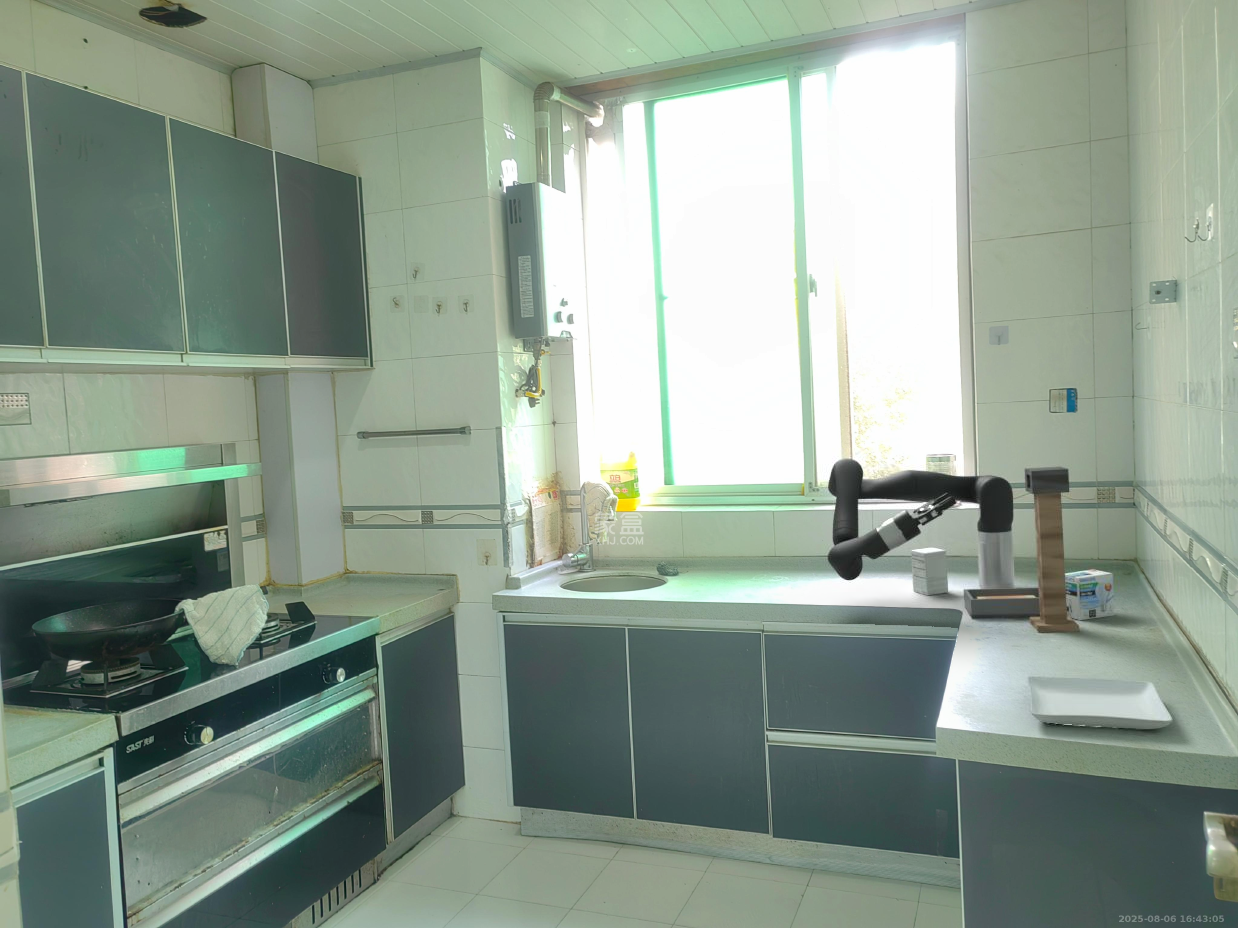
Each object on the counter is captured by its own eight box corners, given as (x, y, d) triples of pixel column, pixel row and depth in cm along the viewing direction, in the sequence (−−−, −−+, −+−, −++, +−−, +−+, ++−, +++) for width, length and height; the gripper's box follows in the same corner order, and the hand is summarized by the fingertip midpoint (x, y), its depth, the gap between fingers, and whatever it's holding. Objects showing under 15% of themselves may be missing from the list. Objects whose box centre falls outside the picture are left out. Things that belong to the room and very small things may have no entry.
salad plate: (1175, 739, 146) (1174, 718, 146) (1032, 731, 154) (1031, 711, 154) (1152, 697, 165) (1151, 679, 165) (1026, 692, 173) (1025, 675, 173)
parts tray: (964, 607, 244) (963, 589, 243) (1044, 605, 239) (1043, 587, 239) (971, 618, 231) (970, 599, 231) (1056, 617, 226) (1055, 597, 226)
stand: (1029, 622, 223) (1021, 468, 221) (1069, 622, 220) (1061, 466, 218) (1037, 631, 214) (1029, 471, 212) (1079, 631, 212) (1071, 469, 210)
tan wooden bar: (977, 607, 238) (976, 596, 238) (1034, 606, 235) (1033, 595, 235) (979, 610, 235) (978, 599, 235) (1036, 609, 232) (1036, 597, 232)
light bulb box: (1080, 621, 221) (1078, 577, 221) (1060, 615, 228) (1058, 573, 227) (1116, 615, 224) (1114, 572, 223) (1095, 610, 230) (1093, 568, 230)
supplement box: (934, 588, 270) (931, 546, 269) (949, 592, 263) (946, 550, 262) (912, 591, 268) (910, 549, 268) (927, 595, 261) (924, 552, 260)
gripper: (904, 537, 247) (956, 506, 243) (908, 546, 233) (964, 512, 229) (888, 515, 247) (941, 483, 243) (892, 521, 233) (947, 488, 229)
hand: (952, 497), depth 236 cm, fingers open, 8 cm apart
